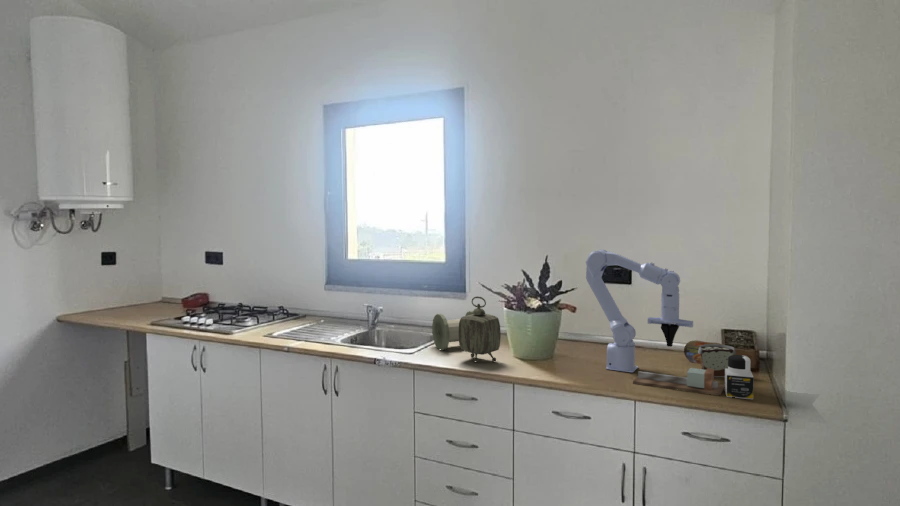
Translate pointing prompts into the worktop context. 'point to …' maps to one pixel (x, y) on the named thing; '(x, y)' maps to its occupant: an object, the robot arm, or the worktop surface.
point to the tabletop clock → (479, 332)
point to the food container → (715, 357)
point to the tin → (695, 350)
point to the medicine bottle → (739, 377)
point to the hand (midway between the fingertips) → (669, 345)
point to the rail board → (680, 382)
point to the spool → (445, 330)
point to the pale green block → (695, 377)
